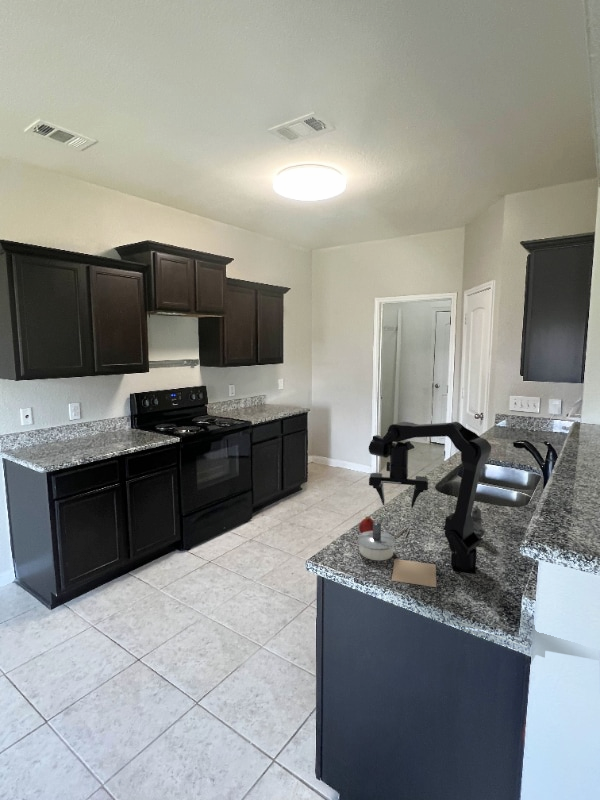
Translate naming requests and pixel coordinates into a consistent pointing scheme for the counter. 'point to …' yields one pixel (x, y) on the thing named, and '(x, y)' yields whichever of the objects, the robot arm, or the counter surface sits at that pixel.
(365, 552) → the bowl
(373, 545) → the lid
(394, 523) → the counter surface
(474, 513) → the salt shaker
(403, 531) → the tweezers
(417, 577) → the mat
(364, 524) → the onion
